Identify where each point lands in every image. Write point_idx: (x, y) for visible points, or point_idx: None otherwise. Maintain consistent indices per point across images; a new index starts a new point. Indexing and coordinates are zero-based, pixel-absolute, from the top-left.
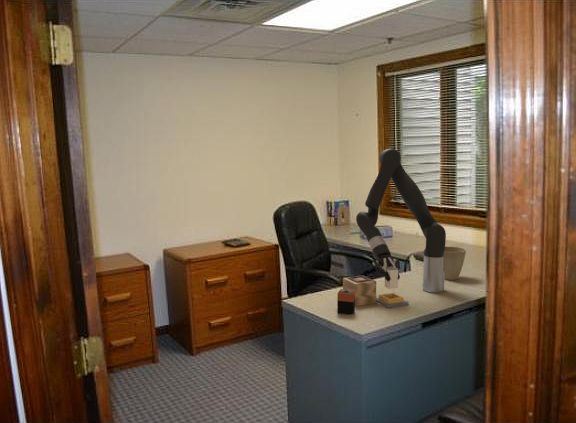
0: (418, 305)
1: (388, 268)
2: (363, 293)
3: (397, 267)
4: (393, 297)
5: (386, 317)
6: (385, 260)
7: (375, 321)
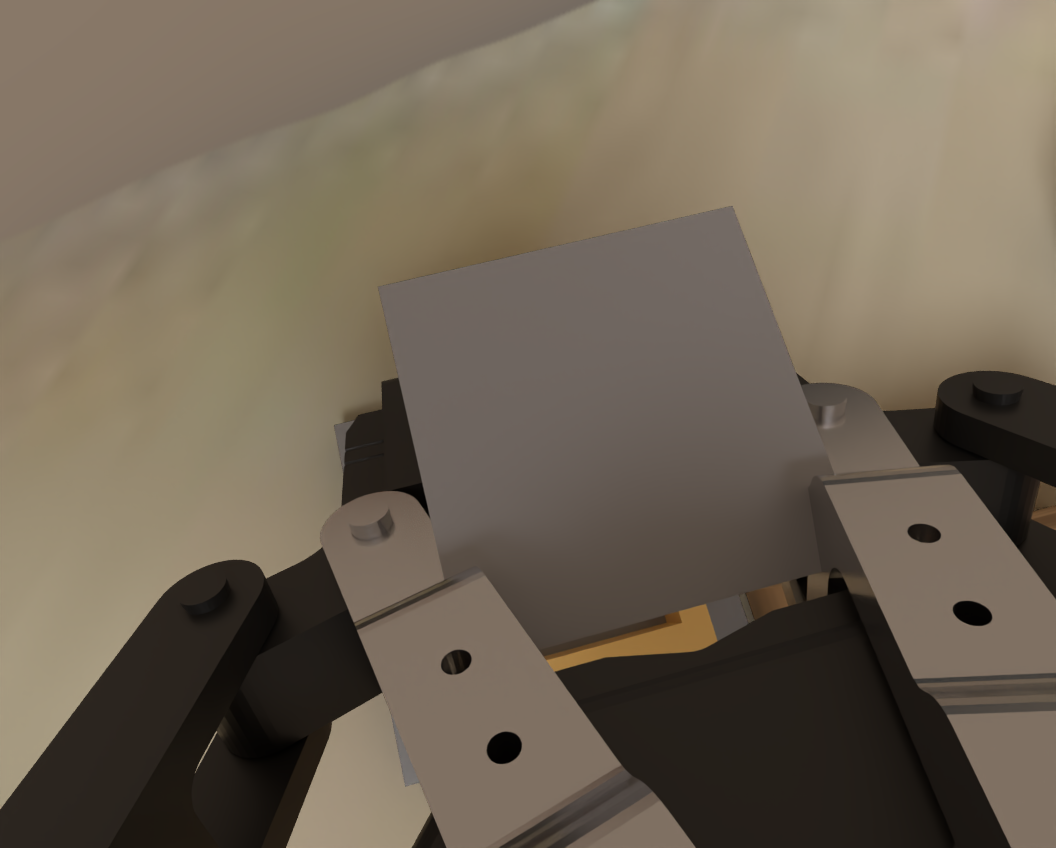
0: (227, 393)
1: (769, 329)
2: (1045, 519)
3: (261, 639)
4: None
5: (753, 95)
6: (1015, 715)
7: (889, 20)
